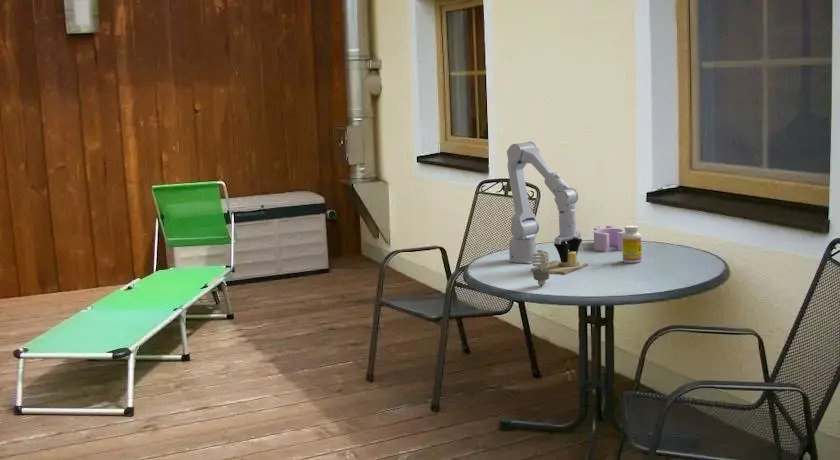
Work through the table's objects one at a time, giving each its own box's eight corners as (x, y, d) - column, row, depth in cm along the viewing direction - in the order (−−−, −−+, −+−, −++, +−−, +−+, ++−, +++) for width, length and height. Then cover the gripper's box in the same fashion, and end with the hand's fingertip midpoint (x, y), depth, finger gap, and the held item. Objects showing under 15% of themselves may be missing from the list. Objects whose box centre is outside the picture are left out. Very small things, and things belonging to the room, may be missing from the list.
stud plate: (530, 271, 341) (530, 261, 340) (554, 262, 353) (554, 253, 352) (565, 274, 332) (564, 264, 331) (588, 265, 344) (588, 256, 343)
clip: (587, 243, 386) (587, 226, 385) (618, 241, 386) (618, 224, 385) (598, 253, 366) (598, 235, 365) (631, 250, 367) (630, 232, 366)
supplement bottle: (641, 263, 342) (641, 227, 340) (622, 263, 344) (621, 228, 341) (641, 259, 349) (640, 224, 347) (622, 260, 350) (621, 225, 348)
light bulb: (531, 284, 320) (529, 249, 318) (548, 283, 320) (546, 247, 318) (535, 288, 314) (533, 252, 312) (552, 287, 315) (550, 250, 313)
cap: (565, 265, 340) (565, 254, 339) (558, 263, 345) (558, 252, 344) (579, 263, 342) (579, 252, 341) (571, 261, 347) (571, 250, 346)
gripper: (566, 226, 333) (567, 265, 335) (587, 220, 344) (588, 257, 346) (548, 225, 337) (550, 263, 340) (570, 219, 348) (571, 256, 350)
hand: (568, 260), depth 343 cm, fingers closed on cap, 6 cm apart
